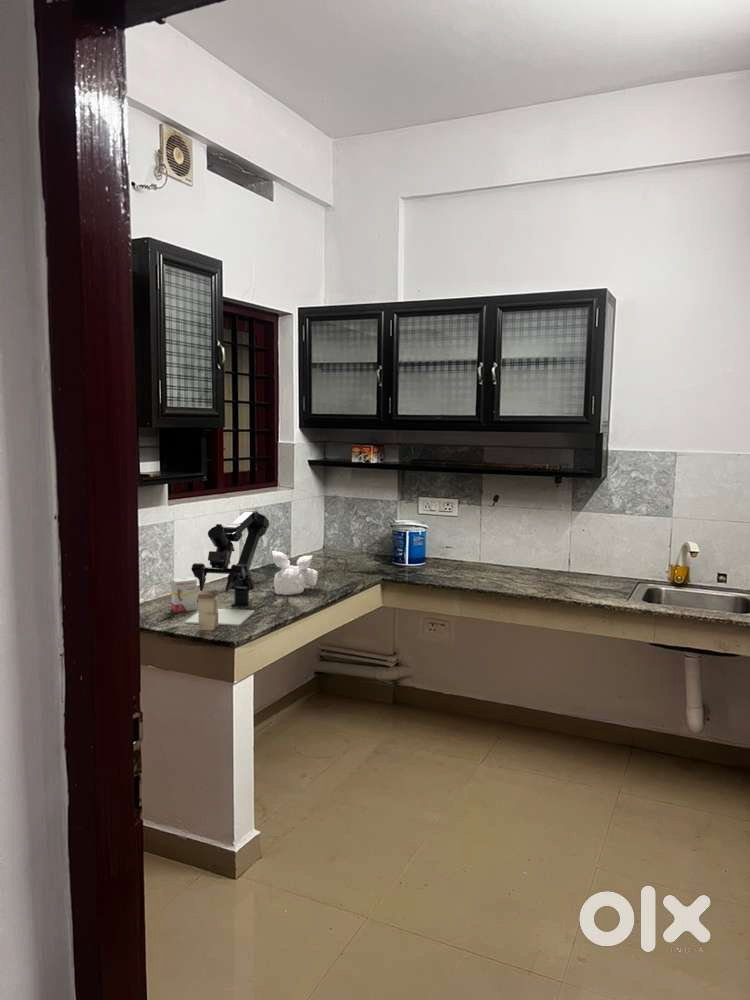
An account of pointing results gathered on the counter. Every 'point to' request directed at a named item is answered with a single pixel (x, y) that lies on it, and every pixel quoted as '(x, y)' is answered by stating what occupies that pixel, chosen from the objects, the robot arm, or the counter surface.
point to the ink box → (184, 594)
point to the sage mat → (226, 617)
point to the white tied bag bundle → (292, 574)
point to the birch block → (208, 610)
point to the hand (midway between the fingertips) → (213, 591)
